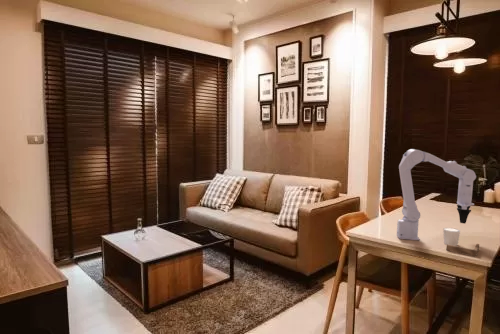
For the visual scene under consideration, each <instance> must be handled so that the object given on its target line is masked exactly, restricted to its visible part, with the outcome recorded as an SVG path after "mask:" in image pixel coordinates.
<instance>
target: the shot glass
mask: <svg viewBox="0 0 500 334" xmlns="http://www.w3.org/2000/svg"><path fill="white" fill-rule="evenodd" d="M442 230H443V232H442V233H443V244H444V245H446V246H447V244H448V245H453V246H458V244H459V240H460V234H461V230H460V229H458V228H453V227H444V228H443V229H442Z"/></svg>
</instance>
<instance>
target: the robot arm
mask: <svg viewBox="0 0 500 334" xmlns="http://www.w3.org/2000/svg"><path fill="white" fill-rule="evenodd" d="M421 162H425V163H426V162H429V163H431V164H434V165H436V166H439V167H441V168H442V169H443V171H444V172H445V173H447V174H449V175H452V176H453V177H456V178H458V189H457V198H456V199H457V201H456V210H457V212H458V217H459V223H460V224H466V223H467V221H468V217H469V215H470V213H471V212H472V209H470V208H471V206H475V203H473V202H472V201H473V199H472V198H473V190H474V189H473V188H474V187H473V186H474V181H475V180H476V178H477V175H476V172H475V171H474V170H473V169H470V168H467V166H466V165H463V166H462V165H461V164H458V162H457V161H456V160H453V161H452V160H449V161H445V160H444V159H441V158H440V157H437V156H436V155H434V154H431V153H429V152H426V151H422V150H420V149H415V148H410V149H408V150H406V152H404V154H402V158H401V161H400V163H399V165H398V169H399V170H398V171H399V178H400V185H401V191H402V198H403V203H402V209H401V212H402V215H403V217H402V219H397V223H396V236H397V237H398V239H399V240H400V239H402V240H413V241H420V240H421V239H420V238H419V236H418V235H419V224H420V223H419V220H420V218H421V211H419V210H418V205H417V203H416V200H415V191H414V186H413V179H412V172H411V170H412V169H413V168H414V167H415V166H416V165H418V164H420V163H421Z"/></svg>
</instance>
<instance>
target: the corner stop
mask: <svg viewBox="0 0 500 334" xmlns="http://www.w3.org/2000/svg"><path fill="white" fill-rule="evenodd" d="M446 251H449V252H452V253H458V254H463V255H467V256H472V257H477V256H478V252H479V251H480V244H479V243H476V244H475V247H474V248H469V247H464V246H458V245H457V246H453V245H448V244H447V245H446Z"/></svg>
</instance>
